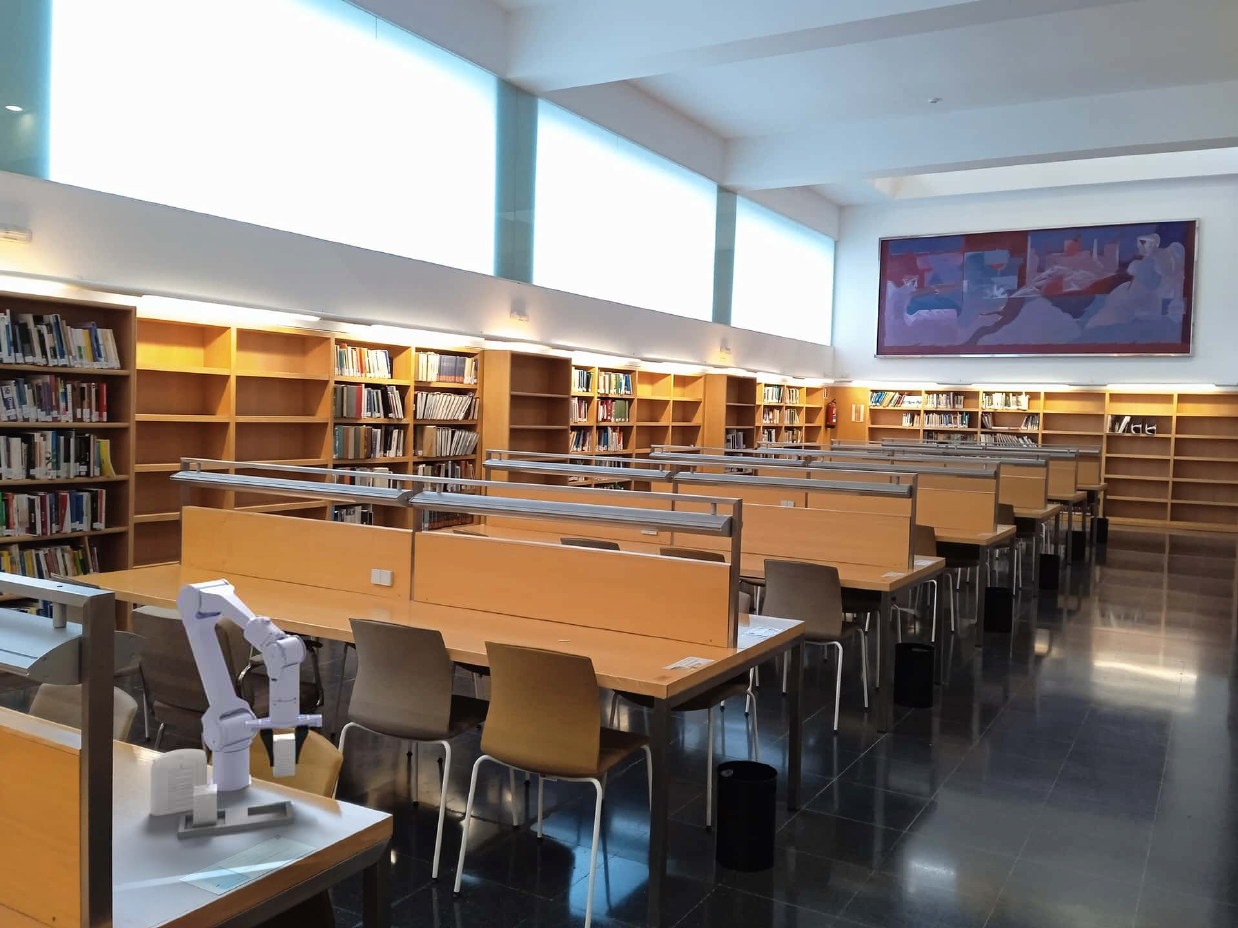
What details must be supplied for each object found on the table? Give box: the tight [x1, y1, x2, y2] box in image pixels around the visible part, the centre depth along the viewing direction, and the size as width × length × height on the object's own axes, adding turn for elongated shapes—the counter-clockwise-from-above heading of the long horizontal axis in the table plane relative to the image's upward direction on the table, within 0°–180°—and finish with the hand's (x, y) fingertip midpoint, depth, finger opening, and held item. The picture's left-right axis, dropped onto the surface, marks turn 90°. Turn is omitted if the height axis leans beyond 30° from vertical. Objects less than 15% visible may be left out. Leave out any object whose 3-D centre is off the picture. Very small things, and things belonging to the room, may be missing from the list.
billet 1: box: [192, 783, 218, 828], centre depth 183 cm, size 5×4×7 cm
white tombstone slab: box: [149, 748, 208, 817], centre depth 191 cm, size 10×4×12 cm, turn 123°
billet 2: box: [272, 733, 296, 778], centre depth 197 cm, size 5×4×7 cm
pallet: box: [177, 800, 294, 840], centre depth 185 cm, size 9×20×2 cm, turn 112°
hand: (283, 763), depth 197 cm, fingers closed on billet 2, 4 cm apart
